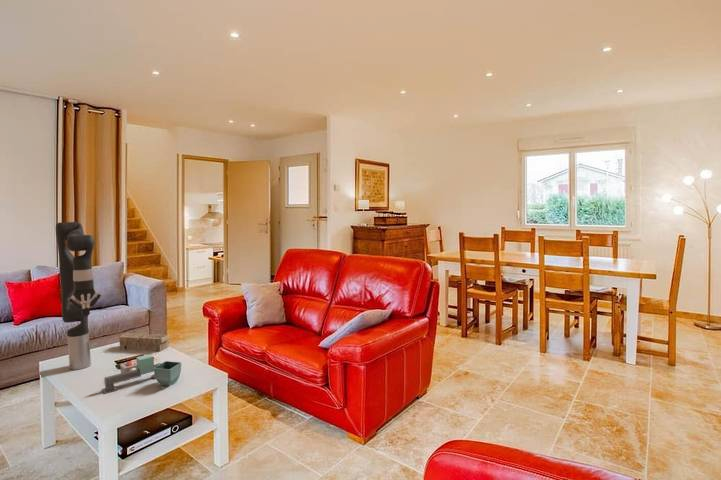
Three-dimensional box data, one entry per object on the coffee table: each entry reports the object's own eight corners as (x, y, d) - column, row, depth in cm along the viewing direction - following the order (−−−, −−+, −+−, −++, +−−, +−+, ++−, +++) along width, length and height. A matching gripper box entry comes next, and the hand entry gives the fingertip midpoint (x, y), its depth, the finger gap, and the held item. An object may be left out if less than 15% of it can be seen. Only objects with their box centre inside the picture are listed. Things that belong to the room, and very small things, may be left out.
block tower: (118, 351, 240) (162, 352, 235) (116, 336, 240) (161, 337, 234) (128, 346, 248) (171, 347, 243) (126, 332, 247) (169, 333, 242)
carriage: (137, 371, 197) (136, 357, 196) (150, 367, 201) (149, 354, 200) (140, 374, 193) (139, 360, 192) (154, 370, 197) (153, 356, 197)
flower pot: (170, 388, 188) (169, 369, 187) (153, 387, 189) (152, 368, 189) (182, 380, 196) (181, 362, 196) (166, 379, 198) (165, 360, 197)
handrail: (101, 390, 187) (101, 377, 186) (162, 373, 205) (161, 361, 204) (104, 393, 183) (103, 380, 182) (165, 376, 201) (165, 364, 201)
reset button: (126, 371, 201) (125, 362, 201) (133, 369, 204) (132, 360, 203) (128, 373, 199) (127, 364, 199) (135, 371, 201) (134, 362, 201)
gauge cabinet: (121, 376, 202) (120, 364, 201) (136, 372, 207) (136, 360, 206) (125, 380, 196) (124, 368, 196) (141, 376, 201) (140, 364, 201)
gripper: (67, 282, 180) (70, 320, 182) (102, 278, 190) (104, 314, 191) (64, 280, 185) (66, 317, 187) (97, 276, 195) (100, 311, 196)
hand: (86, 316), depth 189 cm, fingers closed
